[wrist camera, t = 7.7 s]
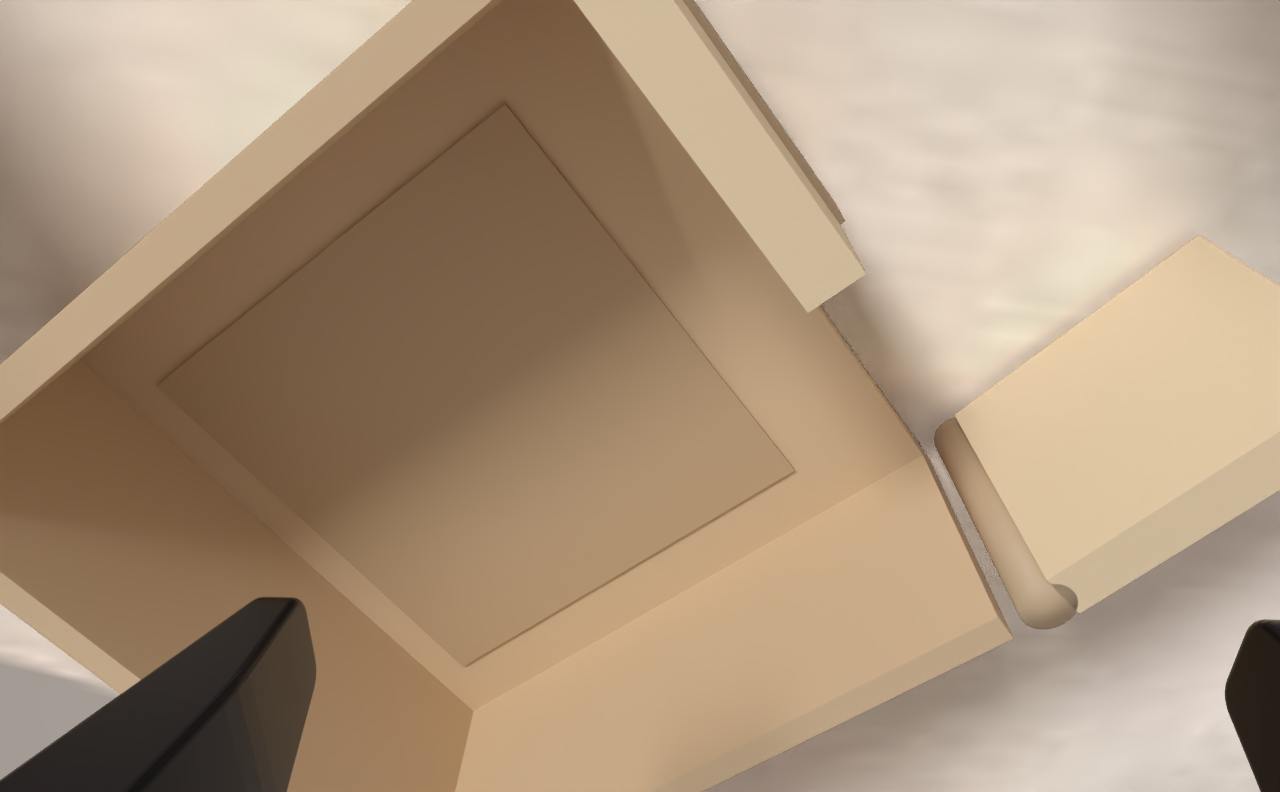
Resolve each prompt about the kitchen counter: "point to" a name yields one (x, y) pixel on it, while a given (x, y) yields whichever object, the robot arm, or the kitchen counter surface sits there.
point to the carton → (483, 440)
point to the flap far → (1125, 435)
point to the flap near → (732, 139)
